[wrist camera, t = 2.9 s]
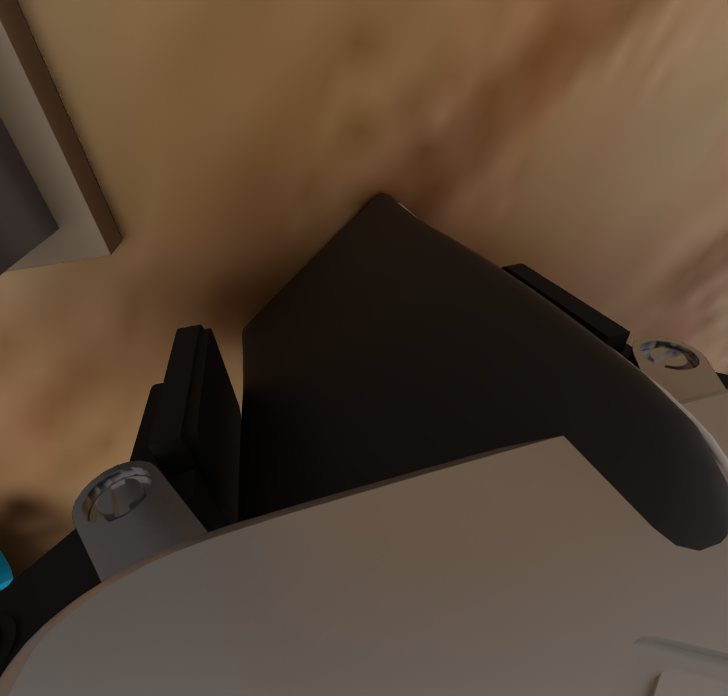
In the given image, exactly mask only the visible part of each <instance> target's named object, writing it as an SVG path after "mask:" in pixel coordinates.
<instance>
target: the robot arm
mask: <svg viewBox="0 0 728 696" xmlns="http://www.w3.org/2000/svg"><path fill="white" fill-rule="evenodd" d="M502 269H503V270H504V271H506V272H507V273H509V274H510V275H512V276H513V277H515V278H516V279H518V280H519V281H521V282H522V283H524V284H525V285H527V286H528V287H530V288H531V289H533V290H534V291H536V292H537V293H539V294H540V295H541V296H543V297H544V298H545V299H547V300H548V301H550V302H551V303H552V304H554V305H555V306H556V307H558V308H559V309H561V310H562V311H563V312H565V313H566V314H567V315H569V316H570V317H571V318H573V319H574V320H575V321H577V322H578V323H579V324H581V325H582V326H583V327H585V328H586V329H587V330H589V331H590V332H591V333H593V334H594V335H595V336H597V337H598V338H599V339H600V340H602V341H603V342H604V343H606V344H607V345H608V346H610V347H611V348H612V349H614V350H615V351H616V352H618V353H619V354H620V355H622V356H623V357H624V358H625V359H627V360H628V361H629V362H631V363H632V364H633V365H634V366H636V367H637V368H638V369H640V370H641V371H642V372H643V373H645V374H646V375H647V376H649V377H650V378H651V379H652V380H654V381H655V382H656V383H658V384H659V385H660V386H661V387H663V388H664V389H665V390H666V391H667V392H668V393H669V394H670V395H671V396H672V397H674V398H675V399H676V400H677V401H678V402H679V403H680V404H681V405H682V406H683V407H684V408H685V409H686V410H688V411H689V412H690V413H691V414H692V415H693V416H694V417H695V418H696V419H697V420H698V421H699V423H700V424H701V425H702V426H703V427H704V428H705V429H706V430H707V431H708V432H709V433H710V434H711V435H712V436H713V438H714V439H715V441H716V442H717V444H718V445H719V447H720V448H721V450H722V451H723V453H724V454H725V456H726V457H727V458H728V375H726V374H721V373H717V372H715V371H714V369H713V368H712V366H711V365H710V363H709V361H708V360H707V358H706V357H705V356H704V355H703V354H702V353H701V352H700V351H698V350H696V349H695V348H693V347H691V346H689V345H687V344H685V343H682V342H679V341H676V340H672V339H667V338H660V337H648V338H643V339H640V340H638V341H636V342H635V343H634V344H633V346H632V347H631V346H629V345H628V344H626V341H627V339H628V336H629V334H630V332H629V331H628V330H626V329H625V328H623V327H622V326H620V325H618V324H617V323H615V322H614V321H612V320H611V319H609V318H607V317H606V316H604V315H603V314H601V313H600V312H598V311H596V310H595V309H593V308H592V307H590V306H589V305H587V304H585V303H584V302H582V301H581V300H579V299H578V298H576V297H574V296H573V295H571V294H570V293H568V292H567V291H565V290H563V289H562V288H560V287H559V286H557V285H555V284H554V283H552V282H551V281H549V280H548V279H546V278H544V277H543V276H541V275H540V274H538V273H537V272H535V271H533V270H532V269H530V268H529V267H527V266H526V265H524V264H516V265H511V266H506V267H502ZM240 436H241V413H240V408H239V404H238V401H237V399H236V396H235V393H234V390H233V387H232V384H231V382H230V379H229V376H228V373H227V370H226V368H225V365H224V362H223V359H222V356H221V354H220V351H219V348H218V345H217V342H216V340H215V337H214V334H213V332H212V330H211V329H210V328H209V329H204V328H203V327H202V325H196V326H190V327H185V328H180V329H177V331H176V335H175V339H174V343H173V347H172V351H171V355H170V359H169V363H168V366H167V370H166V374H165V378H164V382H163V383H160V384H155V385H154V386H152V388H151V390H150V394H149V397H148V401H147V404H146V407H145V411H144V414H143V418H142V421H141V425H140V428H139V431H138V435H137V438H136V442H135V445H134V448H133V452H132V455H131V459H130V462H126V463H123V464H120V465H117V466H115V467H113V468H111V469H109V470H107V471H105V472H103V473H102V474H100V475H99V476H98V477H96V478H95V479H94V480H92V481H91V482H90V483H89V484H88V485H87V486H86V487H85V488H84V489H83V490H82V492H81V493H80V495H79V496H78V498H77V500H76V501H75V504H74V507H73V510H72V517H73V523H74V525H75V527H76V529H75V530H73V531H72V532H71V533H70V534H69V535H67V536H66V537H65V538H64V539H63V540H62V541H60V542H59V543H58V544H57V545H56V546H54V547H53V548H52V549H51V550H50V551H48V552H47V553H46V554H45V555H44V556H42V557H41V558H40V559H39V560H38V561H37V562H35V563H34V564H33V565H32V566H31V567H29V568H28V569H27V570H26V571H25V572H23V573H22V574H21V575H20V576H19V577H17V578H16V579H15V580H14V581H13V582H12V583H10V584H9V585H8V586H7V587H6V588H4V589H3V590H2V591H1V592H0V696H728V535H727V537H726V538H725V539H724V540H723V541H722V542H721V543H719V544H717V545H714V546H711V547H709V548H706V549H703V550H701V551H697V550H693V549H689V548H685V547H680V546H676V545H675V544H673V543H672V542H671V541H670V540H668V539H667V538H666V537H664V536H663V535H662V534H661V533H659V532H658V531H657V530H655V529H654V528H653V527H652V526H651V525H650V524H649V523H648V522H647V521H646V520H645V519H644V518H643V517H642V516H641V515H640V514H639V513H638V512H637V511H636V510H635V509H634V508H633V507H632V506H631V505H630V504H629V503H628V502H627V500H626V499H625V498H624V497H623V496H622V495H621V494H620V493H619V492H618V491H617V490H616V489H615V488H614V487H613V486H612V485H611V484H610V483H609V482H608V481H607V480H606V479H605V478H604V477H603V476H602V475H601V474H600V473H599V472H598V471H597V470H596V469H595V468H594V467H593V466H592V465H591V464H590V463H589V462H588V461H587V459H586V458H585V457H584V456H583V455H582V454H581V453H580V452H579V451H578V450H577V449H576V448H575V447H574V446H573V445H572V444H571V443H570V442H569V441H568V440H567V439H566V438H565V437H564V436H558V437H553V438H547V439H542V440H537V441H532V442H527V443H522V444H517V445H512V446H507V447H502V448H498V449H494V450H491V451H487V452H483V453H480V454H476V455H472V456H469V457H465V458H462V459H458V460H454V461H451V462H447V463H444V464H440V465H436V466H433V467H429V468H425V469H422V470H418V471H415V472H411V473H408V474H404V475H401V476H397V477H393V478H390V479H386V480H383V481H379V482H376V483H372V484H369V485H365V486H362V487H358V488H354V489H351V490H347V491H344V492H340V493H337V494H333V495H330V496H326V497H322V498H319V499H315V500H312V501H308V502H305V503H302V504H298V505H295V506H292V507H288V508H285V509H282V510H278V511H275V512H272V513H268V514H265V515H261V516H258V517H255V518H251V519H248V520H245V521H241V522H238V485H239V459H240ZM713 457H714V456H713ZM714 459H715V458H714ZM715 461H716V463H717V464H718V466H719V468H720V470H721V472H722V474H723V476H724V478H725V479H726V481H727V484H728V471H726V470H725V469H724V468H723V467H722V466H721V465H720V464H719V463H718V461H717V460H716V459H715Z"/></svg>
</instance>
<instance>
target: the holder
mask: <svg viewBox="0 0 728 696" xmlns="http://www.w3.org/2000/svg"><path fill="white" fill-rule="evenodd" d="M121 242H122V238H121V235H120V233H119V231H118V229H117V226H116V224H115V222H114V220H113V217H112V215H111V213H110V210H109V208H108V206H107V204H106V201H105V199H104V197H103V195H102V192H101V190H100V188H99V186H98V183H97V181H96V179H95V177H94V174H93V172H92V170H91V168H90V165H89V163H88V161H87V159H86V156H85V154H84V152H83V149H82V147H81V145H80V143H79V140H78V138H77V136H76V134H75V131H74V129H73V127H72V125H71V122H70V120H69V118H68V116H67V113H66V111H65V109H64V107H63V104H62V102H61V100H60V97H59V95H58V93H57V91H56V88H55V86H54V84H53V82H52V79H51V77H50V75H49V73H48V70H47V68H46V66H45V64H44V61H43V59H42V57H41V55H40V52H39V50H38V48H37V46H36V43H35V41H34V39H33V36H32V34H31V32H30V30H29V27H28V25H27V23H26V21H25V18H24V16H23V14H22V12H21V9H20V7H19V5H18V3H17V0H0V275H1V274H2V273H4V272H6V271H12V270H19V269H25V268H32V267H38V266H45V265H51V264H57V263H64V262H70V261H77V260H83V259H90V258H96V257H103V256H109V255H111V254H112V253H113V252H114V251H115V249H116V248H117V247H118V245H119V244H120V243H121Z"/></svg>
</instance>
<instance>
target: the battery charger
mask: <svg viewBox="0 0 728 696" xmlns="http://www.w3.org/2000/svg"><path fill="white" fill-rule="evenodd" d="M242 345H243V400H242V416H241V436H240V459H239V485H238V522H241V521H245V520H248V519H251V518H255V517H258V516H261V515H265V514H268V513H272V512H275V511H278V510H282V509H285V508H288V507H292V506H295V505H298V504H302V503H305V502H308V501H312V500H315V499H319V498H322V497H326V496H330V495H333V494H337V493H340V492H344V491H347V490H351V489H354V488H358V487H362V486H365V485H369V484H372V483H376V482H379V481H383V480H386V479H390V478H393V477H397V476H401V475H404V474H408V473H411V472H415V471H418V470H422V469H425V468H429V467H433V466H436V465H440V464H444V463H447V462H451V461H454V460H458V459H462V458H465V457H469V456H472V455H476V454H480V453H483V452H487V451H491V450H494V449H498V448H502V447H507V446H512V445H517V444H522V443H527V442H532V441H537V440H542V439H547V438H553V437H558V436H564V437H565V438H566V439H567V440H568V441H569V442H570V443H571V444H572V445H573V446H574V447H575V448H576V449H577V450H578V451H579V452H580V453H581V454H582V455H583V456H584V457H585V458H586V459H587V461H588V462H589V463H590V464H591V465H592V466H593V467H594V468H595V469H596V470H597V471H598V472H599V473H600V474H601V475H602V476H603V477H604V478H605V479H606V480H607V481H608V482H609V483H610V484H611V485H612V486H613V487H614V488H615V489H616V490H617V491H618V492H619V493H620V494H621V495H622V496H623V497H624V498H625V499H626V500H627V502H628V503H629V504H630V505H631V506H632V507H633V508H634V509H635V510H636V511H637V512H638V513H639V514H640V515H641V516H642V517H643V518H644V519H645V520H646V521H647V522H648V523H649V524H650V525H651V526H652V527H653V528H654V529H655V530H657V531H658V532H659V533H661V534H662V535H663V536H664V537H666V538H667V539H668V540H670V541H671V542H672V543H673V544H675V545H676V546H680V547H685V548H689V549H693V550H697V551H701V550H703V549H706V548H709V547H711V546H714V545H717V544H719V543H721V542H722V541H723V540H724V539H725V538H726V537H727V535H728V484H727V481H726V479H725V478H724V476H723V474H722V472H721V470H720V468H719V466H718V464H717V463H716V461H715V459H716V460H717V461H718V463H719V464H720V465H721V466H722V467H723V468H724V469H725V470H726V471H728V458H727V457H726V456H725V454H724V453H723V451H722V450H721V448H720V447H719V445H718V444H717V442H716V441H715V439H714V438H713V436H712V435H711V434H710V433H709V432H708V431H707V430H706V429H705V428H704V427H703V426H702V425H701V424H700V423H699V421H698V420H697V419H696V418H695V417H694V416H693V415H692V414H691V413H690V412H689V411H688V410H686V409H685V408H684V407H683V406H682V405H681V404H680V403H679V402H678V401H677V400H676V399H675V398H674V397H672V396H671V395H670V394H669V393H668V392H667V391H666V390H665V389H664V388H663V387H661V386H660V385H659V384H658V383H656V382H655V381H654V380H652V379H651V378H650V377H649V376H647V375H646V374H645V373H643V372H642V371H641V370H640V369H638V368H637V367H636V366H634V365H633V364H632V363H631V362H629V361H628V360H627V359H625V358H624V357H623V356H622V355H620V354H619V353H618V352H616V351H615V350H614V349H612V348H611V347H610V346H608V345H607V344H606V343H604V342H603V341H602V340H600V339H599V338H598V337H597V336H595V335H594V334H593V333H591V332H590V331H589V330H587V329H586V328H585V327H583V326H582V325H581V324H579V323H578V322H577V321H575V320H574V319H573V318H571V317H570V316H569V315H567V314H566V313H565V312H563V311H562V310H561V309H559V308H558V307H556V306H555V305H554V304H552V303H551V302H550V301H548V300H547V299H545V298H544V297H543V296H541V295H540V294H539V293H537V292H536V291H534V290H533V289H531V288H530V287H528V286H527V285H525V284H524V283H522V282H521V281H519V280H518V279H516V278H515V277H513V276H512V275H510V274H509V273H507V272H506V271H504V270H503V269H502V268H500V267H498V266H497V265H495V264H493V263H492V262H490V261H488V260H487V259H485V258H484V257H482V256H480V255H479V254H477V253H475V252H474V251H472V250H470V249H468V248H467V247H465V246H464V245H462V244H460V243H459V242H457V241H455V240H453V239H452V238H450V237H448V236H447V235H445V234H443V233H441V232H439V231H437V230H436V229H434V228H432V227H430V226H428V225H427V224H425V223H424V222H422V221H421V220H419V219H418V218H417V217H416V216H415V215H413V214H412V213H411V212H410V211H409V210H408V209H407V208H405V207H404V206H403V205H402V204H400V203H398V202H396V201H395V200H394V199H393V198H392V197H391V196H390V195H387V194H380V195H378V196H376V197H375V198H374V199H373V200H372V201H371V202H370V203H369V204H368V205H367V206H366V207H365V208H364V209H363V210H362V211H361V212H360V213H359V214H358V215H357V216H355V217H354V218H353V219H352V220H351V221H350V222H349V223H348V224H347V225H346V226H345V227H344V228H343V229H342V230H341V231H340V232H339V233H338V234H337V235H336V236H335V237H334V238H333V239H332V240H331V241H330V242H329V243H328V244H327V245H326V246H325V247H324V248H323V249H322V250H321V251H320V252H319V253H318V254H317V255H316V256H315V257H314V258H313V259H312V260H311V261H310V262H309V263H308V264H307V265H306V266H305V267H304V268H303V269H302V270H301V271H300V272H299V273H298V274H297V275H296V276H295V277H294V278H293V279H292V280H291V281H290V282H289V283H288V284H287V285H286V286H285V287H284V288H283V289H282V290H281V291H280V292H279V293H278V294H277V295H276V296H275V297H274V298H273V299H272V300H271V301H270V302H269V303H268V304H267V305H266V306H265V307H264V308H263V309H262V310H261V312H260V313H259V314H258V315H257V316H256V317H255V318H254V319H253V320H252V321H251V322H250V323H249V324H248V325H247V326H246V327H245V329H244V330H243V333H242ZM713 456H714V457H713ZM714 458H715V459H714Z"/></svg>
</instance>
